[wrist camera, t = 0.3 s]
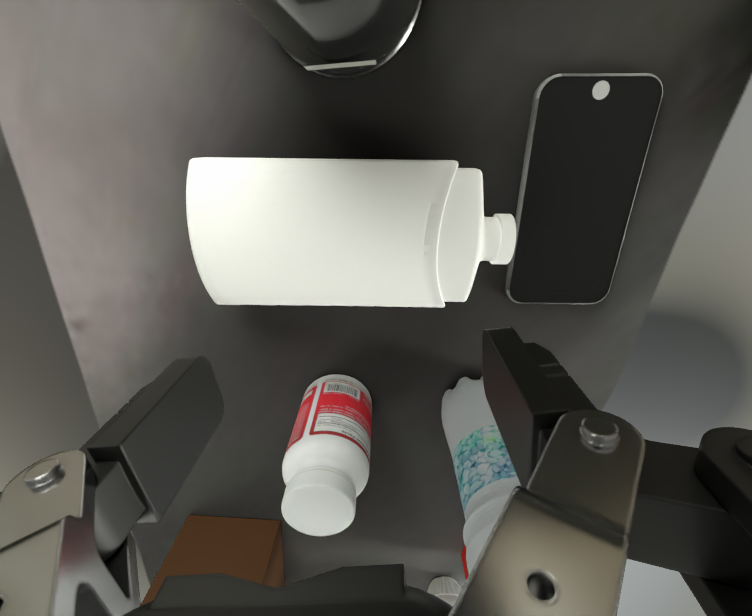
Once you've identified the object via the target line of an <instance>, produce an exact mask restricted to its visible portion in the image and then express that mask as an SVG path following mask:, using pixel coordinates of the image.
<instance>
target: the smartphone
mask: <svg viewBox="0 0 752 616" xmlns="http://www.w3.org/2000/svg"><path fill="white" fill-rule="evenodd" d="M662 97H663V85H662V83H661V81H660V79H659V78H658V77H657V76H655V75H653V74H650V73H596V74H556V75H553V76H551V77H548V78H547V79H545V80H544V81H543V82H542V83H541V84H540V85H539V86H538V88H537V89H536V91H535V94H534V97H533V103H532V109H531V116H530V123H529V129H528V136H527V143H526V149H525V156H524V163H523V169H522V176H521V183H520V189H519V196H518V203H517V209H516V216H515V223H516V244H515V249H514V253H513V256H512V259H511V260H510V262H509V263H508V269H507V276H506V282H505V292H506V294H507V296H508V297H509V298H510V299H511V300H512V301H513V302H515V303H519V304H595V303H597V302H599V301H601V300H602V299H604V298H605V297H606V296H607V294H608V293H609V290H610V287H611V284H612V280H613V276H614V273H615V269H616V266H617V263H618V260H619V256H620V251H621V249H622V245H623V242H624V238H625V234H626V229H627V225H628V221H629V218H630V214H631V210H632V207H633V203H634V199H635V196H636V192H637V188H638V185H639V181H640V177H641V174H642V170H643V166H644V163H645V159H646V155H647V152H648V148H649V144H650V141H651V137H652V133H653V130H654V126H655V122H656V119H657V115H658V111H659V108H660V104H661V100H662Z"/></svg>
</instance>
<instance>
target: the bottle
mask: <svg viewBox="0 0 752 616" xmlns="http://www.w3.org/2000/svg"><path fill="white" fill-rule="evenodd" d="M441 416H442V424H443V428H444V432H445V436H446V439H447V442H448V445H449V448H450V452H451V455H452V459H453V464H454V469H455V474H456V478H457V483H458V488H459V493H460V497H461V502H462V507H463V512H464V516H465V521H466V522H465V526H464V529H463V540H464V543H465V546H466V561H467V565H468V568H469V570H470V572H471V570H472V568H473V566H474V564H475V562H476V560H477V558H478V556H479V554H480V552H481V550H482V549H483V547H484V545H485V543H486V541H487V539H488V537H489V535H490V533H491V531H492V529H493V527H494V525H495V523H496V521H497V519H498V517H499V515H500V513H501V511H502V509H503V507H504V505H505V503H506V501H507V499H508V497H509V496H510V494H511V492H512V491H513V489H514V488H515V487H516V486H521V484H520V482H519V479H518V477H517V474H516V472H515V469H514V467H513V464H512V462H511V459H510V457H509V454H508V452H507V449H506V447H505V444H504V442H503V439H502V436H501V434H500V431H499V429H498V426H497V424H496V421H495V419H494V416H493V414H492V411H491V409H490V406H489V404H488V401H487V399H486V395H485V391H484V385H483V376H482V377H481V378H480V380H471V379H469V378H468V377H463V378H461V379H459V381H458V383H457V385H456V387H455V388H454V389H453V390H450V389H449V390H447V391H446V392H445V394H444V396H443V399H442V411H441Z"/></svg>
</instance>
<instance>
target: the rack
mask: <svg viewBox="0 0 752 616" xmlns="http://www.w3.org/2000/svg"><path fill="white" fill-rule="evenodd" d="M216 573H223V574H227V575H230V576H234V577H238V578H241V579H245V580H248V581H252V582H256V583H259V584H263V585H266V586H270V587H283V586H285V576H284V562H283V549H282V535H281V521H279V520H263V519H248V518H232V517H216V516H200V515H189V516H188V518H187V519H186V521H185V523H184V525H183V527H182V529H181V531H180V532H179V534H178V536H177V538H176V540H175V542H174V544H173V546H172V547H171V549H170V551H169V553H168V555H167V557H166V559H165V560H164V562H163V564H162V566H161V568H160V570H159V572H158V574H157V575H156V577H155V579H154V581H153V583H152V585H151V587H150V588H149V590H148V593H147V594H146V596H145V598H144V600H143V602H142V603H141V606H142V605H144V604H146V603H149V602H151V601H153V600H154V598H155V596H156V595H157V593H158V591H159V589H160V587H161V585H162V583H163V581H164V579H165V577H166V576H177V575H197V574H216Z"/></svg>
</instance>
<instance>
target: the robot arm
mask: <svg viewBox="0 0 752 616" xmlns="http://www.w3.org/2000/svg"><path fill="white" fill-rule="evenodd" d="M236 1H237V2H238V3H239V4H240V5H241V6H242V7H243V8H244V9H245V10H246V11H247V12H249V13H250V14H251V15H252V16H253V17H254V18H255V19H256V20H257V21H258V22H259V23H260V24H261V25H262V26H263V27H264V28H265V29H266V30H267V31H268V32H269V33H270V34H271V35H272V36H273V37H274V38H275V39H276V40H277V41H278V42H279V43H280V45H281V46H282V47H283V48H284V50H285V51H286V52H287V53H288V54H289V55H290V56H291V57H292V58H293V59H294V60H296V61H297V62H298V63H299V64H301V65H302V66H303V67H304V68H305V69H307V70H310V71H312V72H314V73H316V74H318V75H321V76H323V77H327V78H332V79H342V80H346V79H355V78H360V77H363V76H366V75H368V74H371V73H373V72H375V71H377V70H378V69H380V68H381V67H383V66H384V65H385V64H387V63H388V62H389V61H390V60H391V59H392V58H393V57H394V56H395V55H396V54H397V53H398V52H399V51H400V49H401V48H402V47H403V45H404V44H405V42H406V41H407V39H408V37H409V35H410V33H411V31H412V29H413V27H414V25H415V22H416V20H417V16H418V13H419V10H420V6H421V1H422V0H236ZM482 352H483V385H484V391H485V395H486V399H487V401H488V404H489V406H490V409H491V411H492V414H493V416H494V419H495V421H496V424H497V426H498V429H499V431H500V434H501V436H502V439H503V442H504V444H505V447H506V449H507V452H508V454H509V457H510V459H511V462H512V464H513V467H514V469H515V472H516V474H517V477H518V479H519V482H520V484H521V486H516V487H515V488H514V489H513V491H512V492H511V494H510V496H509V497H508V499H507V501H506V503H505V505H504V507H503V509H502V511H501V513H500V515H499V517H498V519H497V521H496V523H495V525H494V527H493V529H492V531H491V533H490V535H489V537H488V539H487V541H486V543H485V545H484V547H483V549H482V550H481V552H480V554H479V556H478V558H477V560H476V562H475V564H474V566H473V568H472V570H471V572H470V574H469V576H468V578H467V580H466V582H465V584H464V586H463V588H462V590H461V592H460V594H459V596H458V598H457V600H456V602H455V604H454V605H453V607H452V606H451V605H450V604H448V603H447V602H445V601H443V600H442V599H440V598H438V597H436V596H435V595H432V594H430V593H428V592H425V591H423V590H420V589H417V588H413V587H410V586H407V585H406V578H405V571H404V565H403V564H393V565H373V566H354V567H342V568H338V569H335V570H332V571H329V572H326V573H323V574H320V575H317V576H314V577H311V578H308V579H305V580H302V581H299V582H296V583H292V584H289V585H286V586H283V587H270V586H266V585H263V584H259V583H256V582H252V581H248V580H245V579H241V578H238V577H234V576H230V575H227V574H223V573H216V574H197V575H177V576H166V577H165V579H164V581H163V583H162V585H161V587H160V589H159V591H158V593H157V595H156V596H155V598H154V600H153V601H151V602H149V603H146V604H144V605H142V606H141V604H140V593H139V581H138V570H137V559H136V548H135V541H134V538H133V537H132V535H131V533H130V531H131V530H132V528H133V527H134V525H135V524H139V523H155V522H160V520H161V519H162V517H163V515H164V514H165V512H166V510H167V509H168V507H169V505H170V504H171V502H172V501H173V499H174V497H175V496H176V494H177V492H178V491H179V489H180V487H181V486H182V484H183V483H184V481H185V479H186V478H187V476H188V474H189V473H190V471H191V469H192V468H193V466H194V465H195V463H196V461H197V460H198V458H199V456H200V455H201V453H202V451H203V450H204V448H205V446H206V445H207V443H208V442H209V440H210V438H211V437H212V435H213V433H214V432H215V430H216V428H217V427H218V425H219V424H220V422H221V420H222V417H223V413H224V402H223V398H222V395H221V392H220V390H219V387H218V384H217V381H216V378H215V375H214V373H213V370H212V367H211V364H210V362H209V360H208V359H207V358H206V357H203V356H201V357H190V358H180V359H176V360H175V361H173V362H172V363H171V364H170V365H169V366H168V367H167V368H166V369H165V370H164V371H163V372H162V373H161V374H160V375H159V376H158V377H157V378H156V379H155V380H154V381H153V382H151V383H150V384H148V385H146V386H145V387H143V388H142V389H141V390H140V391H139V392H138V393H137V394H136V395H135V396H134V397H133V398H132V399H130V400H129V403H126V404H125V405H124V406H123V407H122V408H121V409H120V410H119V411H118V414H115V415H114V416H113V417H112V418H111V419H110V420H109V421H108V422H107V423H106V424H105V425H104V426H103V427H102V428H101V429H100V430H99V431H98V432H97V433H96V434H95V435H94V436H93V437H92V438H90V439H89V441H87V442H86V444H85V445H83V446H82V447H81V448H80V449H79V450H68V451H62V452H59V453H56V454H53V455H51V456H48V457H46V458H44V459H41V460H40V461H38V462H36V463H34V464H32V465H31V466H29V467H27V468H26V469H24V470H23V471H22V472H20V473H19V474H18V475H16V476H15V477H14V478H13V479H12V480H11V481H10V482H9V483H8V484H7V485H6V486H5V488H4V489H3V491H2V492H0V616H617V609H618V604H619V599H620V593H621V588H622V581H623V577H624V571H625V565H626V560H627V559H632V560H635V561H639V562H643V563H647V564H651V565H655V566H659V567H663V568H667V569H670V570H675V571H678V572H680V574H681V575H682V577H683V579H684V580H685V582H686V583H687V585H688V586H689V588H690V590H691V591H692V593H693V594H694V596H695V597H696V599H697V601H698V602H699V604H700V606H701V607H702V609H703V610H704V612H705V614H706V615H707V616H752V430H747V429H742V428H734V427H722V428H715V429H712V430H709V431H707V432H706V433H705V434H704V435H703V437H702V439H701V442H700V446H699V448H693V447H686V446H680V445H673V444H666V443H660V442H654V441H649V440H645V439H643V437H642V435H641V434H640V432H639V431H638V430H637V429H636V428H635V427H633V426H632V425H631V424H630V423H628V422H627V421H625V420H623V419H621V418H620V417H617V416H615V415H613V414H610V413H607V412H603V411H599V410H597V409H596V408H595V407H594V405H593V404H592V403H591V402H590V400H589V399H588V398H587V397H586V395H585V394H584V393H583V392H582V390H581V389H580V388H579V387H578V385H577V384H576V383H575V382H574V380H573V379H572V378H571V377H570V376H568V373H567V372H566V371H565V369H564V368H563V367H562V366H560V363H559V362H558V361H557V359H556V358H555V357H554V356H553V354H552V353H551V352H550V351H548V350H547V349H545V348H543V347H541V346H540V345H538V344H536V343H523V341H522V340H521V339H520V337H519V336H518V334H517V333H516V332H515V330H514V329H513V328H512V327H504V328H494V329H484V330H483V335H482Z"/></svg>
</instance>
